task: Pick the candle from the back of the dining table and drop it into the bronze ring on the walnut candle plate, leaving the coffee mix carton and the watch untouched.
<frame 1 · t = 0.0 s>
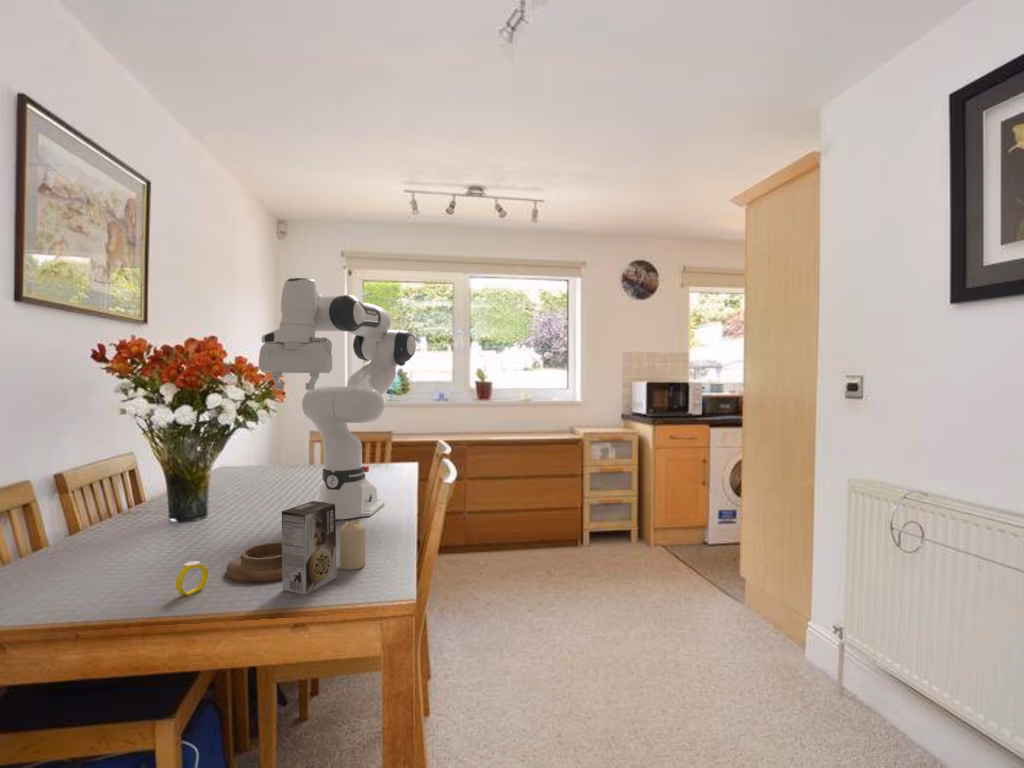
hand: (294, 389, 140), 39 cm above the table, tool pointing down, fingers open, 8 cm apart
candle: (352, 566, 121), on the table
candle plate: (270, 568, 119), on the table
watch: (192, 593, 106), on the table
coffee box: (309, 585, 110), on the table
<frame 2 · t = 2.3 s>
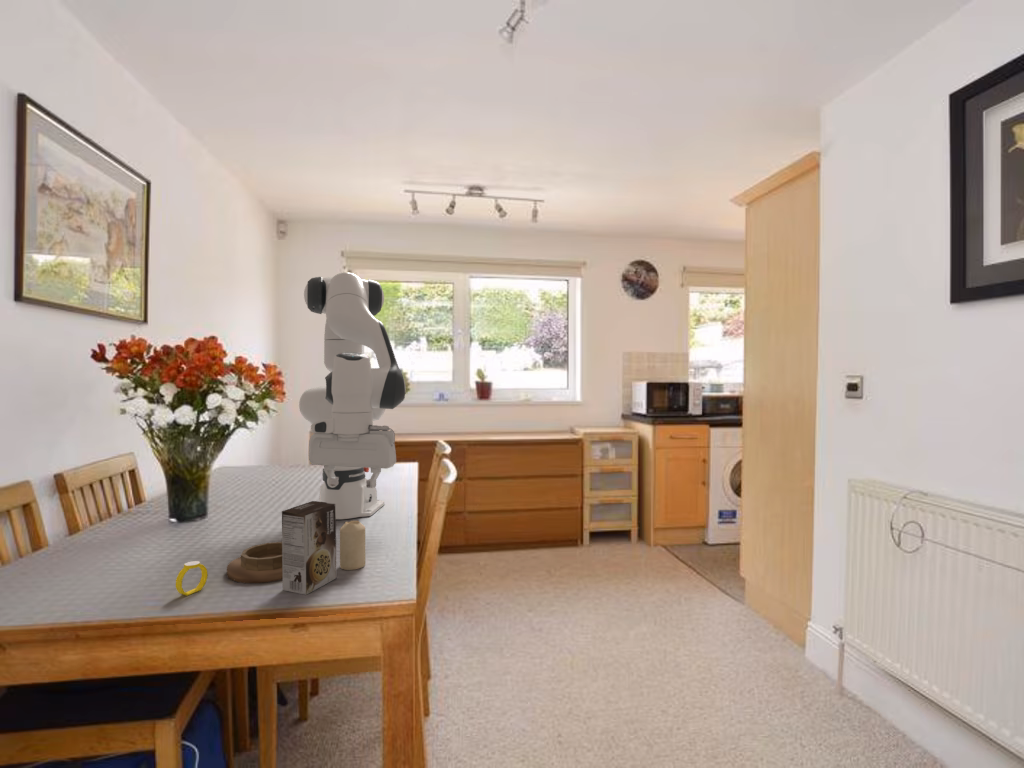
hand: (352, 486, 120), 18 cm above the table, tool pointing down, fingers open, 8 cm apart
nothing on the table moved.
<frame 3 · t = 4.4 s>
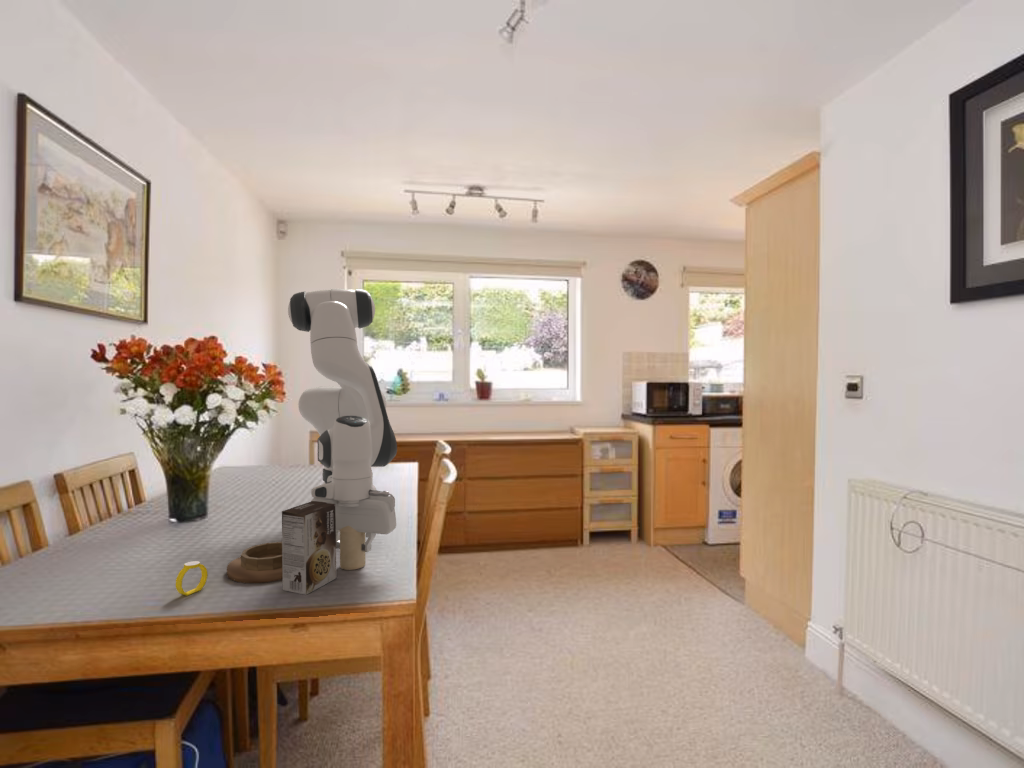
hand: (352, 549, 121), 4 cm above the table, tool pointing down, fingers closed on candle, 5 cm apart
candle: (352, 566, 121), on the table, touching gripper
everything else where it was.
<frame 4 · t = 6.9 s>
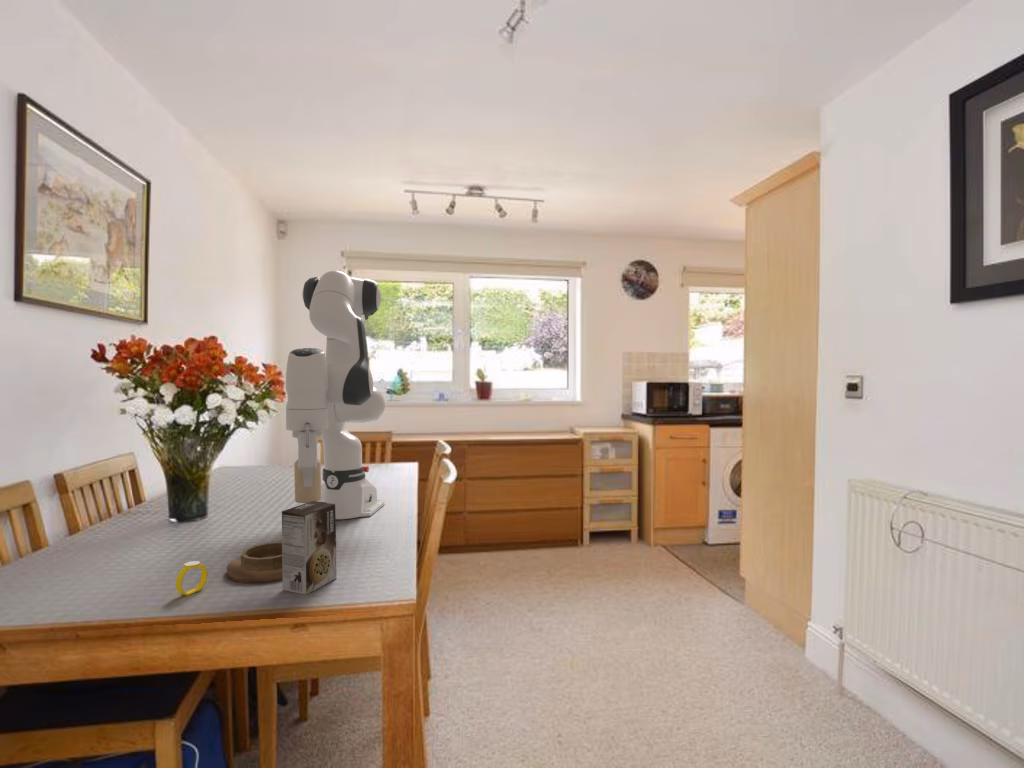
hand: (308, 482, 119), 19 cm above the table, tool pointing down, fingers closed on candle, 5 cm apart
candle: (308, 501, 120), point 15 cm above the table, touching gripper
everything else where it was.
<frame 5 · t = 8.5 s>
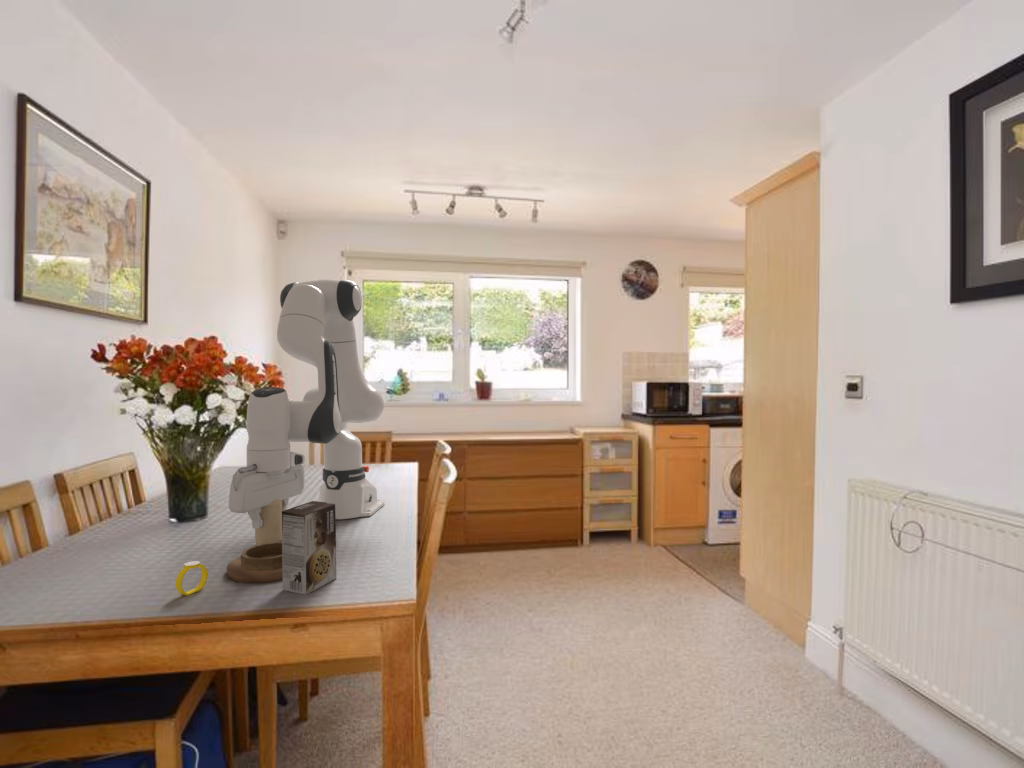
hand: (269, 523, 119), 10 cm above the table, tool pointing down, fingers closed on candle, 5 cm apart
candle: (268, 541, 119), point 6 cm above the table, touching gripper
everything else where it was.
when the fingers open (7 cm above the table, at t = 9.7 s): candle drops 1 cm, resting on candle plate.
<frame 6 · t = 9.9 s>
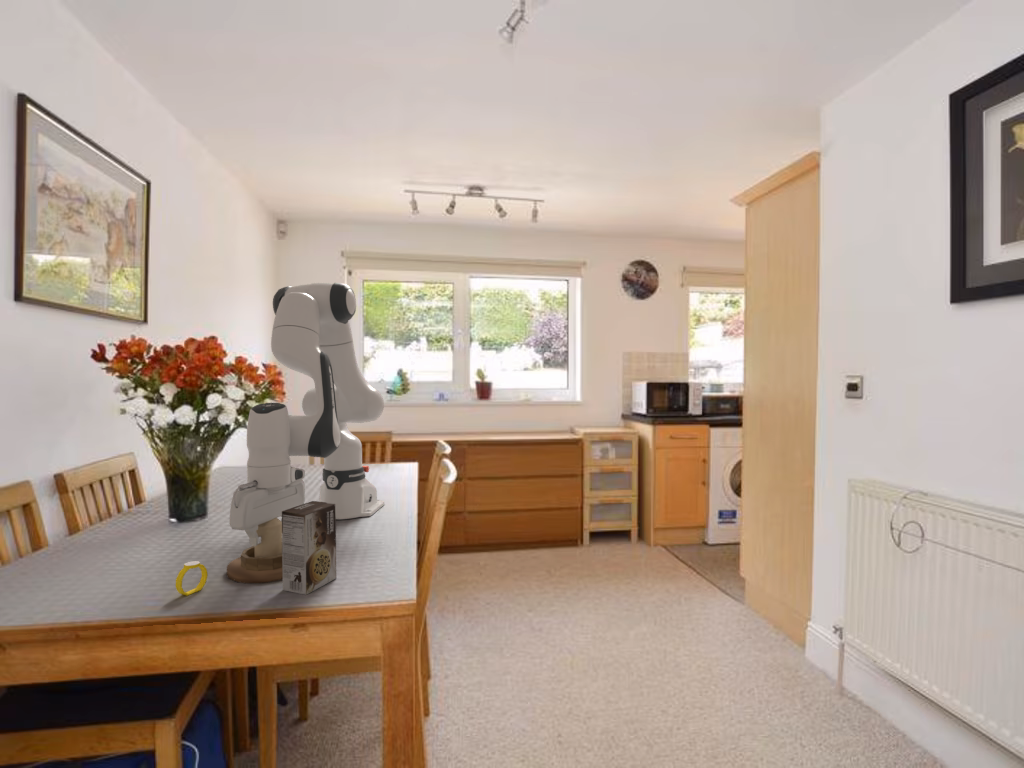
hand: (269, 538, 119), 7 cm above the table, tool pointing down, fingers open, 8 cm apart
candle: (268, 562, 119), point 1 cm above the table, touching candle plate
everything else where it was.
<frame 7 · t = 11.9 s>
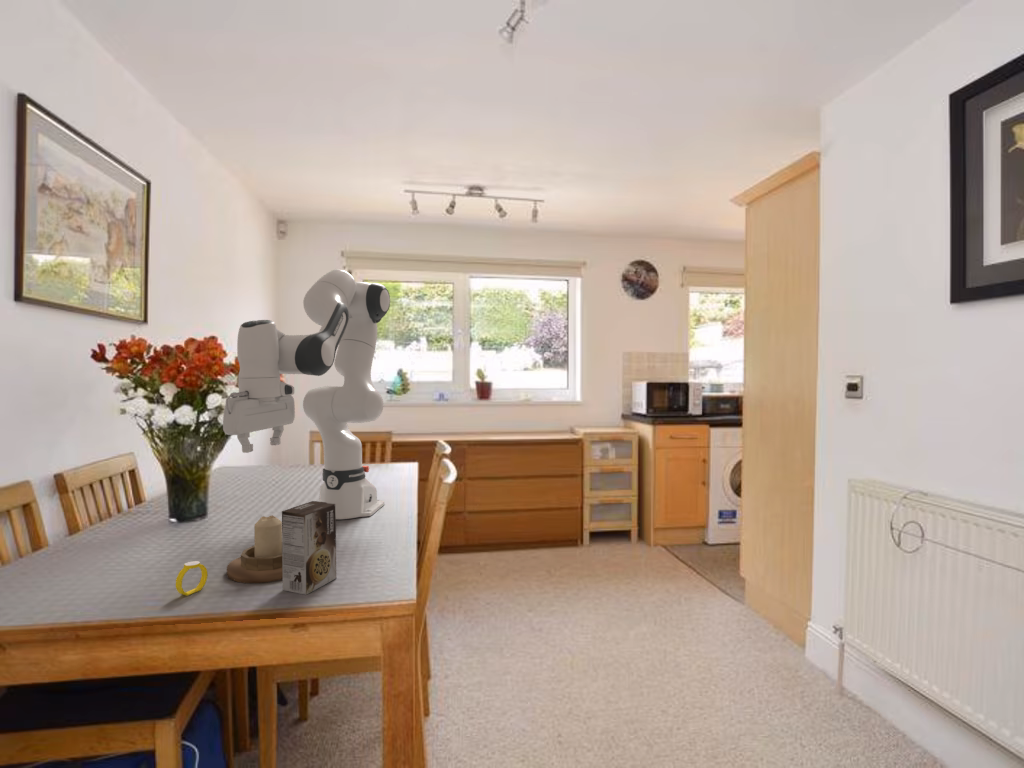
hand: (262, 448, 126), 26 cm above the table, tool pointing down, fingers open, 8 cm apart
nothing on the table moved.
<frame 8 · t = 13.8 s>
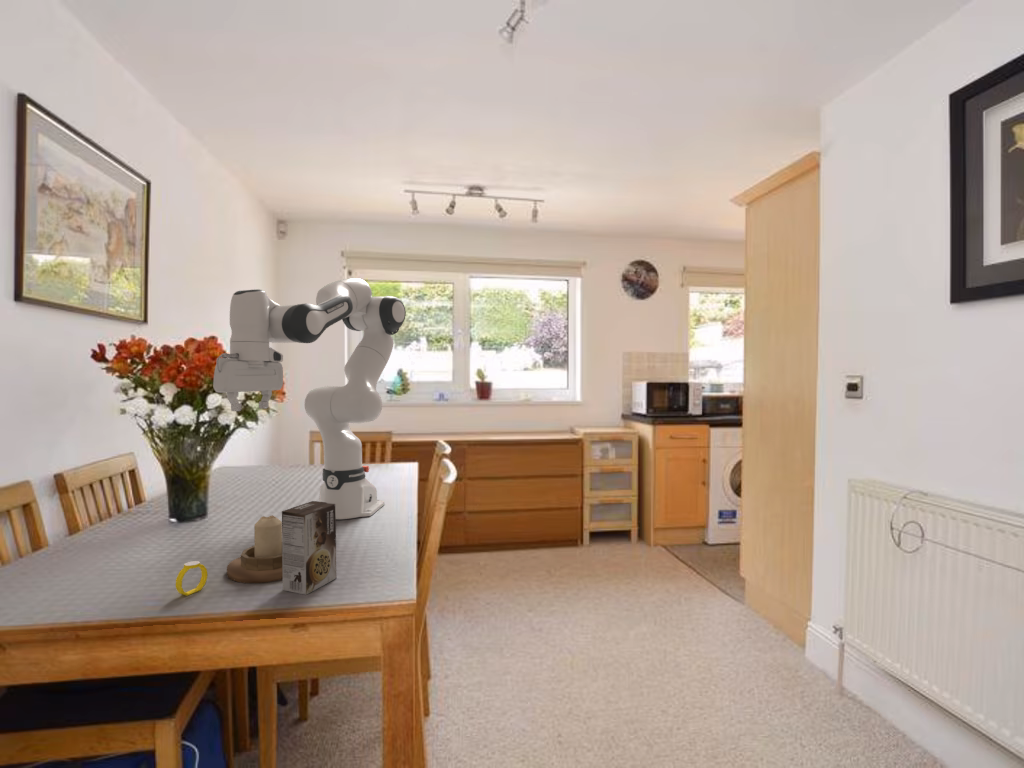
hand: (250, 409, 133), 34 cm above the table, tool pointing down, fingers open, 8 cm apart
nothing on the table moved.
at the end: candle 0.4 cm off-centre on the candle plate, point 1.3 cm above the candle plate's base; candle tilted 0°; the gripper is holding nothing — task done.
